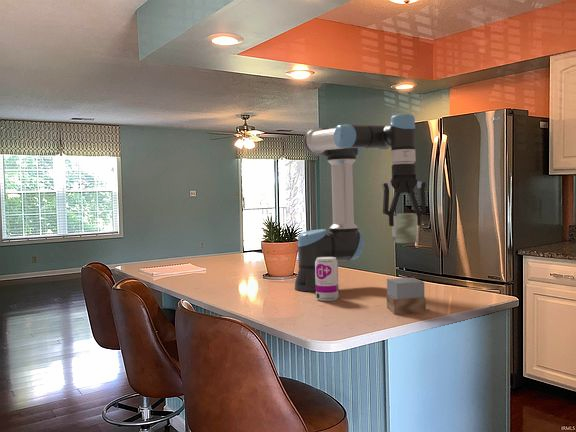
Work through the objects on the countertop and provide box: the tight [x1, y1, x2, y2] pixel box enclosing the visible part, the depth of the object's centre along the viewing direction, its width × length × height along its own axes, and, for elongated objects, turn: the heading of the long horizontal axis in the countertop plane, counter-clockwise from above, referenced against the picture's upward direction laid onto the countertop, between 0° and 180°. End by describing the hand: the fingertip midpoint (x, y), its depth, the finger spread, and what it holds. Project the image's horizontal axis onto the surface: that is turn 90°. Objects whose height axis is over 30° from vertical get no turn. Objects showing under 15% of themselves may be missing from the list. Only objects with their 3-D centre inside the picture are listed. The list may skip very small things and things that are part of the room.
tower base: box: [386, 293, 427, 316], centre depth 167 cm, size 10×10×5 cm
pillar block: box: [392, 212, 418, 244], centre depth 166 cm, size 6×6×9 cm
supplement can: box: [315, 257, 339, 302], centre depth 187 cm, size 8×8×15 cm
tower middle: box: [386, 277, 425, 299], centre depth 167 cm, size 9×9×5 cm
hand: (404, 236), depth 166 cm, fingers closed on pillar block, 6 cm apart
